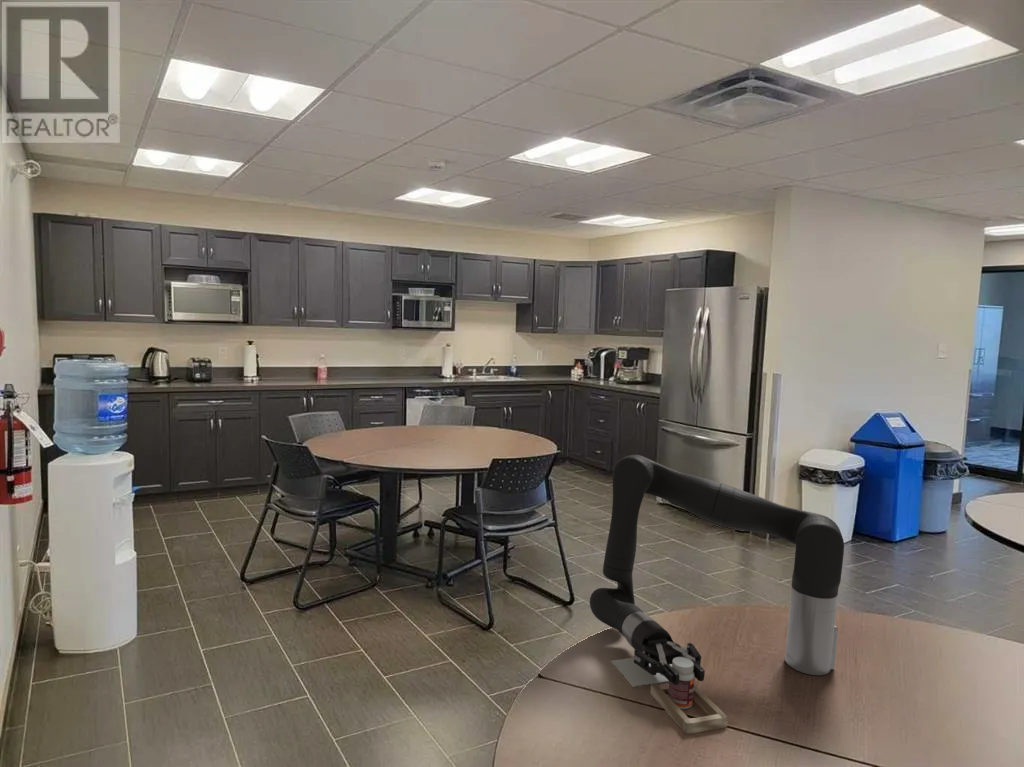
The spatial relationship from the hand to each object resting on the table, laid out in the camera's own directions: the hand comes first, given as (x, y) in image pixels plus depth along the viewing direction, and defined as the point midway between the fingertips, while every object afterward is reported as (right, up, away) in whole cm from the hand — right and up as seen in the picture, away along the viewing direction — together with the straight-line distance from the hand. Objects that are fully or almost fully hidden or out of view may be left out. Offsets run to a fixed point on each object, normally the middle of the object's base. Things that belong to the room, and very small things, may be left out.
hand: (689, 678), depth 124 cm
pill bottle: (-1, -6, +3) cm, 7 cm away
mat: (-5, -5, +14) cm, 16 cm away
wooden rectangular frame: (0, -6, +1) cm, 7 cm away
